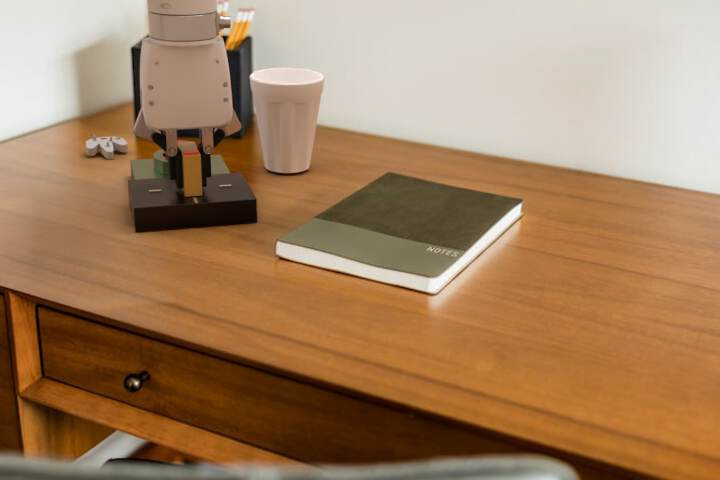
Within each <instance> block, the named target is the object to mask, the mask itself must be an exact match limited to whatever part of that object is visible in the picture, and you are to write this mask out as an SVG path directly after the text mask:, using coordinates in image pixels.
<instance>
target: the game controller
mask: <svg viewBox="0 0 720 480" xmlns="http://www.w3.org/2000/svg"><path fill="white" fill-rule="evenodd" d="M91 137H92V138H90V139H88V140H86V141H85V151H86V156H89V157H93V156H95V155H96V154H98V152H99V153H100V154H101V155H102V156H103V157H104V158H105V159H106V160H113V159H114V158H115V156H114V155H115V154H114V153H115V152H114V151H116V152H119V153H127V152H128V148H129V147H128V142H127V141H126V140H125V139H124V138H123V137H121V136H112V135H111V136H99V137H97V136H96V135H95V134H94V133H92V134H91Z"/></svg>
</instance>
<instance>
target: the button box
mask: <svg viewBox="0 0 720 480" xmlns="http://www.w3.org/2000/svg"><path fill="white" fill-rule="evenodd" d="M129 165H130V175H131V180H137V179H151V178H166V177H169V165H168V158H166V157H165V151H164V150H163V149H162V148H160V149H158V150H157V151H155V152H154V153H153V154H152V158H142V159H141V158H140V159H130V160H129ZM226 173H231V172H230V170H229V168H228V166H227V164H226V163H225V161H224V159H223V157H222V155H221V154H211V174H226Z"/></svg>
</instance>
